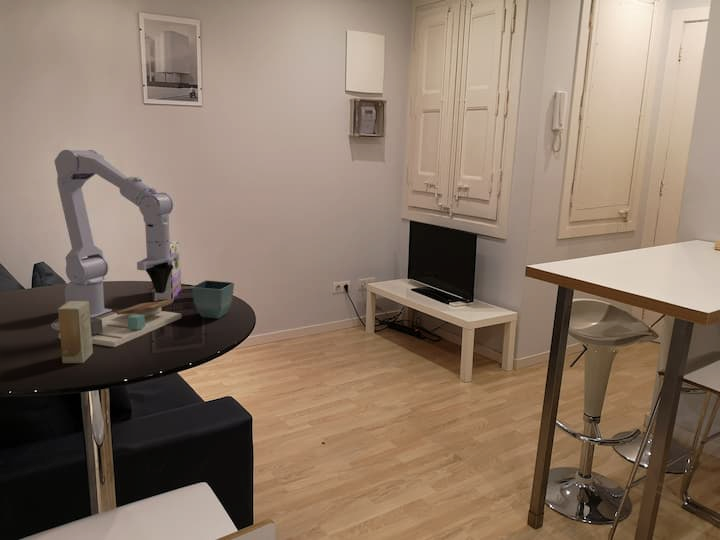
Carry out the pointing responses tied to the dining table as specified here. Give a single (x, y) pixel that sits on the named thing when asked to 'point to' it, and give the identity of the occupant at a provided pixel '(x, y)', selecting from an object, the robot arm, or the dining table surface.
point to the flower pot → (213, 298)
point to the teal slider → (136, 321)
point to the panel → (119, 332)
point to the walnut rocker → (145, 307)
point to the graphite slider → (96, 326)
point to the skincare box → (75, 331)
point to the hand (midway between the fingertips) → (160, 292)
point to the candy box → (171, 277)
